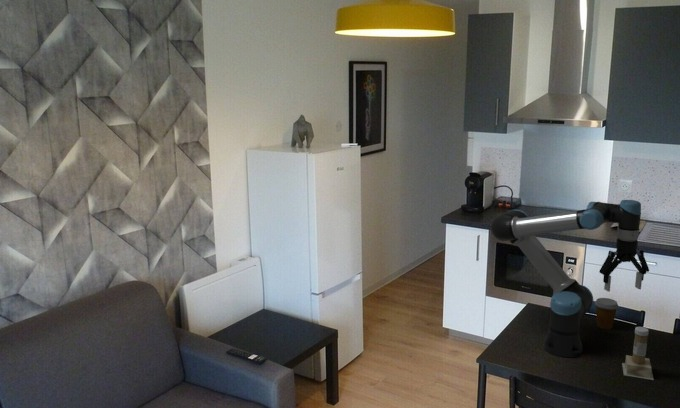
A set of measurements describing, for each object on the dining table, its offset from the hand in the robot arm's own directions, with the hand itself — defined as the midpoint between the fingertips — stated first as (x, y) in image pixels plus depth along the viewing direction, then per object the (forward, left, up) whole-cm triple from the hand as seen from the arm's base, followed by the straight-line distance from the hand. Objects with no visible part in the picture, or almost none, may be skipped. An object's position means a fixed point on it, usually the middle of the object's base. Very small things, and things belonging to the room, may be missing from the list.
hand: (622, 289), depth 231 cm
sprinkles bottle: (+6, -19, -22) cm, 29 cm away
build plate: (+6, -19, -26) cm, 33 cm away
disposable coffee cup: (-4, +22, -27) cm, 35 cm away
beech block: (+6, -19, -26) cm, 32 cm away
